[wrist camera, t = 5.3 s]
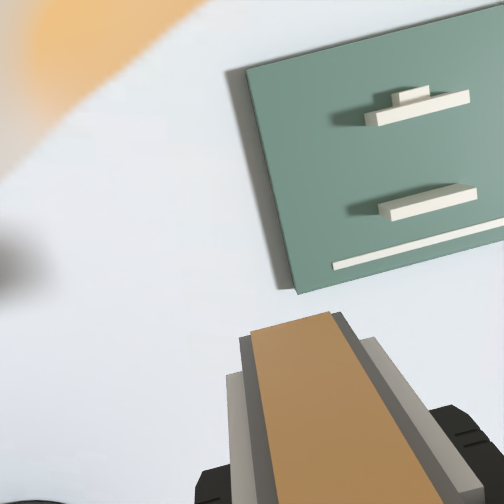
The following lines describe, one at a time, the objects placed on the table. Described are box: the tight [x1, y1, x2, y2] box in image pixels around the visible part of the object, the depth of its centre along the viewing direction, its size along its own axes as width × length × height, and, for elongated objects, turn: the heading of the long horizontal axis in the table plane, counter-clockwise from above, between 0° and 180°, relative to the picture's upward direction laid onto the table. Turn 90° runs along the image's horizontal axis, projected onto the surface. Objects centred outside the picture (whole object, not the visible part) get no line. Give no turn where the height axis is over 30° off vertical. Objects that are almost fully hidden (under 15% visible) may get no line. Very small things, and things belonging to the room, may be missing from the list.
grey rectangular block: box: [239, 312, 466, 504], centre depth 12 cm, size 4×4×10 cm
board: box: [245, 4, 504, 295], centre depth 29 cm, size 20×16×3 cm
